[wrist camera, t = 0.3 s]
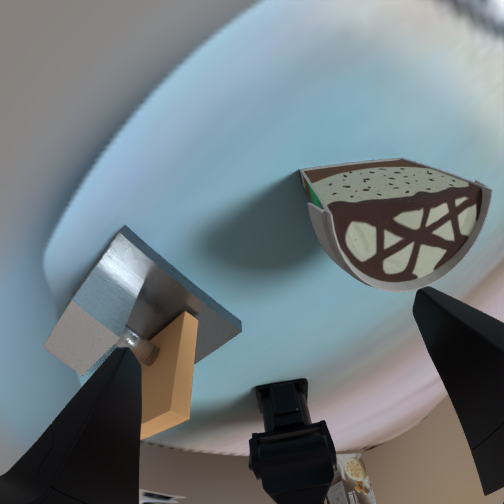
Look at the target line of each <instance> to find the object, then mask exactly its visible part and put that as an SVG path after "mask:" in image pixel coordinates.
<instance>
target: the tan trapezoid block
mask: <svg viewBox="0 0 504 504" xmlns="http://www.w3.org/2000/svg"><path fill="white" fill-rule="evenodd" d="M197 329H198V320H197V319H196V318H194V317H193V316H192V315H190V314H189V313H188V312H186V311H185V312H183V313H182V314H181V315H180V316H179V317H177V318H176V319H175V320H174V321H173V322H172V323H170V324H169V325H168V326H167V327H166V328H164V329H163V330H162V331H161V332H160V333H158V334H157V335H156V336H155V337H154V338H153V339H151V340H150V341H149V340H147V339H146V338H144V337H143V336H141V335H140V334H139V333H137V332H136V331H134V330H133V329H132V328H130V327H129V326H127V325H126V326H125V328H124V331H123V333H122V336H121V338H120V339H119V340H118V341H117V342H116V343H115V344H114V345H116V346H117V347H129V348H130V349H131V350H132V352H133V353H134V355H135V356H136V358H137V359H138V361H139V362H140V364H141V368H142V421H141V436H140V440H142V439H144V438H147V437H150V436H152V435H154V434H157V433H159V432H162V431H164V430H166V429H169V428H171V427H173V426H176V425H178V424H180V423H182V422H185V421H187V420H189V419H190V407H191V393H192V381H193V369H194V358H195V348H196V338H197Z"/></svg>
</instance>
